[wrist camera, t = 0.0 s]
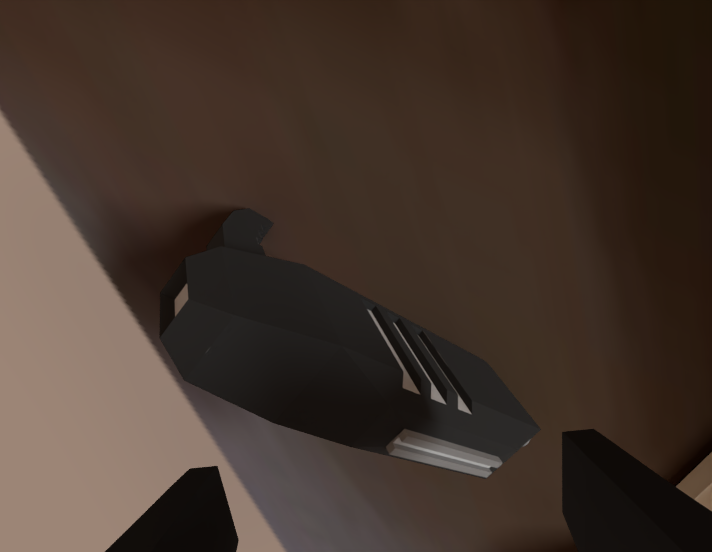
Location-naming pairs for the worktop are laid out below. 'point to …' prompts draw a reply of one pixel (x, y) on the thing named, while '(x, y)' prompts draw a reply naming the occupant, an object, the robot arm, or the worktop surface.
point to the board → (699, 483)
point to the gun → (332, 359)
